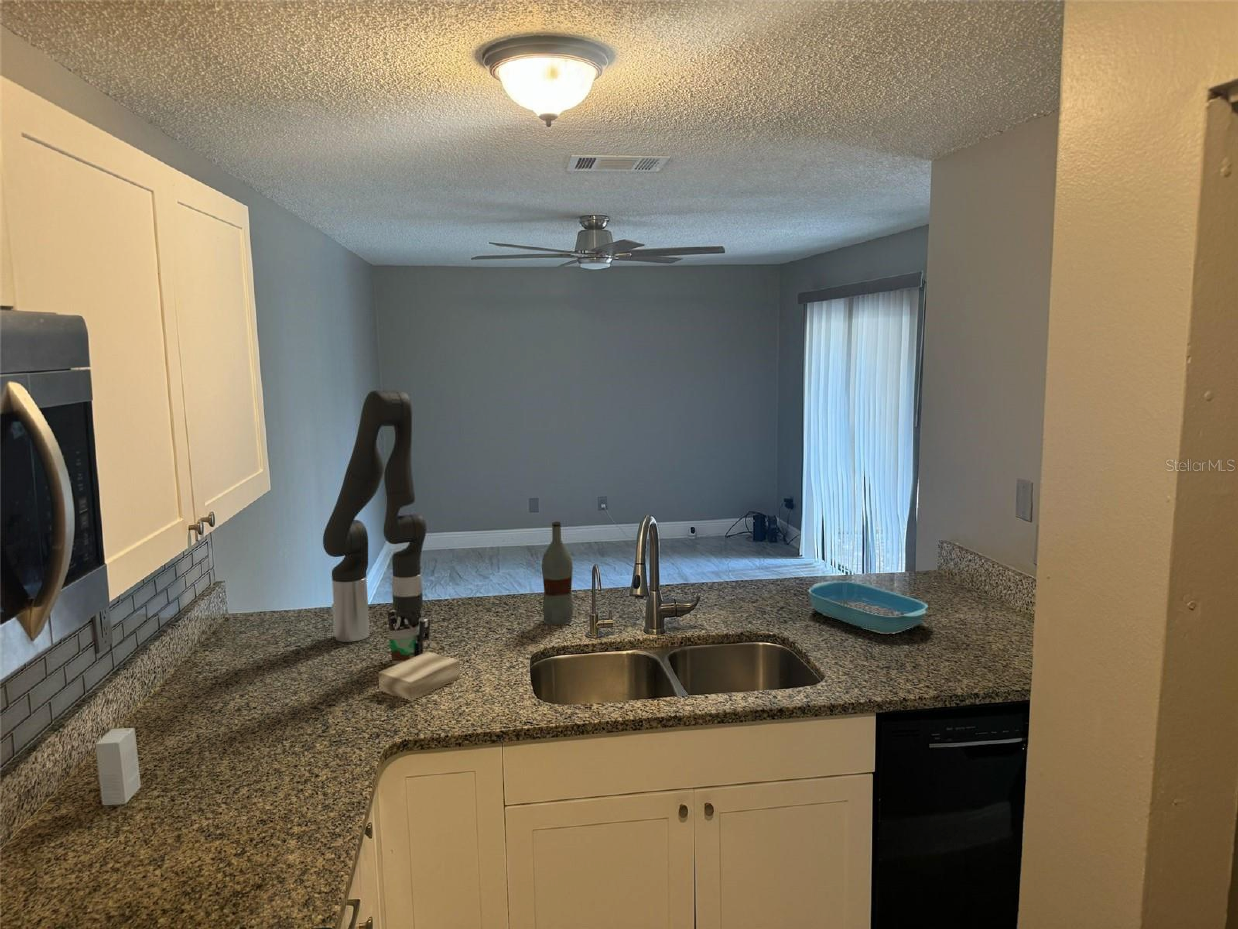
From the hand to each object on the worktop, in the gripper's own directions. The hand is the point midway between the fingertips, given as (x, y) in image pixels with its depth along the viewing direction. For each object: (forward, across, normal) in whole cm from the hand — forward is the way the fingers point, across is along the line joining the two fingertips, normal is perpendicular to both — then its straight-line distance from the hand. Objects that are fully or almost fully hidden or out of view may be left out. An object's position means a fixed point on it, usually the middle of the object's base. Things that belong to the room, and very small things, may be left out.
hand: (409, 652), depth 218 cm
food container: (+2, +1, 0) cm, 2 cm away
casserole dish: (+2, +88, +99) cm, 132 cm away
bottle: (+2, +13, +46) cm, 48 cm away
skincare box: (+2, +7, -75) cm, 75 cm away
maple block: (+2, +14, -9) cm, 17 cm away
